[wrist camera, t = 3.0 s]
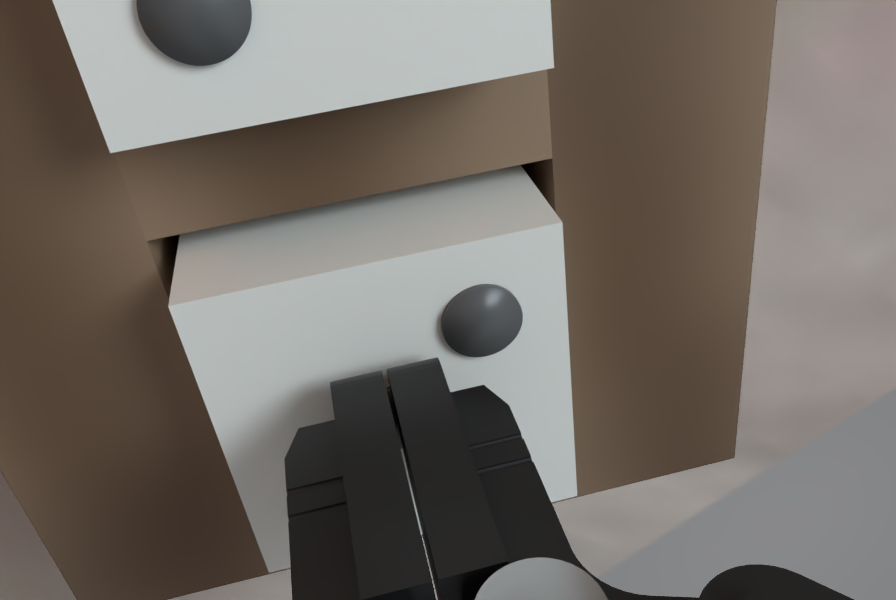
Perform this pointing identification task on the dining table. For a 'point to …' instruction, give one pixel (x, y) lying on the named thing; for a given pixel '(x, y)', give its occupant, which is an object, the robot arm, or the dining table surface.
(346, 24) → the button two
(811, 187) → the dining table surface
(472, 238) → the button three
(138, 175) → the button panel
